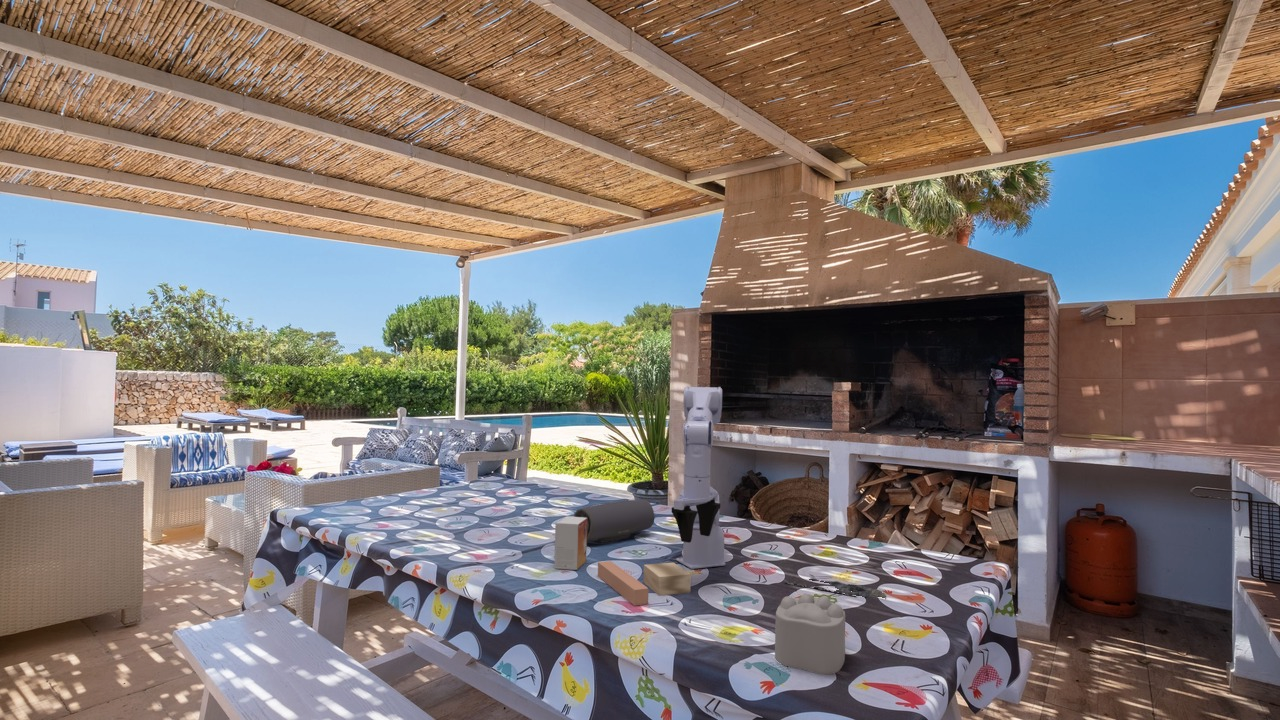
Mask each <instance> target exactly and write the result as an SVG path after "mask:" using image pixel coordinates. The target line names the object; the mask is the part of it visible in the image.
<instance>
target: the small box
mask: <svg viewBox="0 0 1280 720" xmlns="http://www.w3.org/2000/svg"><path fill="white" fill-rule="evenodd" d="M587 520H588V518H584V517H574V516H565V517H563V518H562V519H561V520H559V521H557V522H556V523H555V529H554V530H555V531H554V566H553V569H555V570H557V569H559V570H570V571H578V570H579V569H580V568H581V567H582V565H584V564H585V563H586V562H587V551H588V550H587V549H588V546H587V545H588V541H587Z"/></svg>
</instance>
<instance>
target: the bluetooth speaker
mask: <svg viewBox="0 0 1280 720" xmlns="http://www.w3.org/2000/svg"><path fill="white" fill-rule="evenodd" d="M573 517H584V518H588V520H587V542H588V541H596V540H597V542H599V541H600V542H599V543H608V542H607V541H610V542H614V541H613V540H615V541H620V540H624V539H628V537H629V538H630V537H631V535H632V534H636V533H638V532H642V531H646V530H647V529H648V530H649V529H650V528H651V527H652V526H653V525H654V522H655V512H654V509H653V506H652V504H651V502H649V501H648V500H645V499H632V500H630V499H629V500H622V501H611V502H608V503H600V504H595V505H590V506H586V507H582V508H578V509H577V510H576V511H575V513H574V515H573ZM619 539H620V540H619Z"/></svg>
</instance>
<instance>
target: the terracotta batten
mask: <svg viewBox="0 0 1280 720" xmlns="http://www.w3.org/2000/svg"><path fill="white" fill-rule="evenodd" d="M597 577H599V578H600V580H602V581H603V582H605V583H606V585H608V586H609V587H610V588H612V589H613V590H614V591H616V592H617V593H618V594H619V595H620V596H621V597H622V598H624V599H625V600H626V601H628V602H629V603H630V604H631V605H632V606H634V607H635V606H642V605H648V604H649V588H650V587H648V586H647V585H646V584H643V583H642V582H641V581H639V580H638V579H636V578H635V577H634V576H632V575H631V574H629V573H628V572H626V571H625V570H624V569H622V568H621V567H620V566H618V565H617V564H616V563H614V562H612V560H609V561H607V560H606V561H599V562H597Z"/></svg>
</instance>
